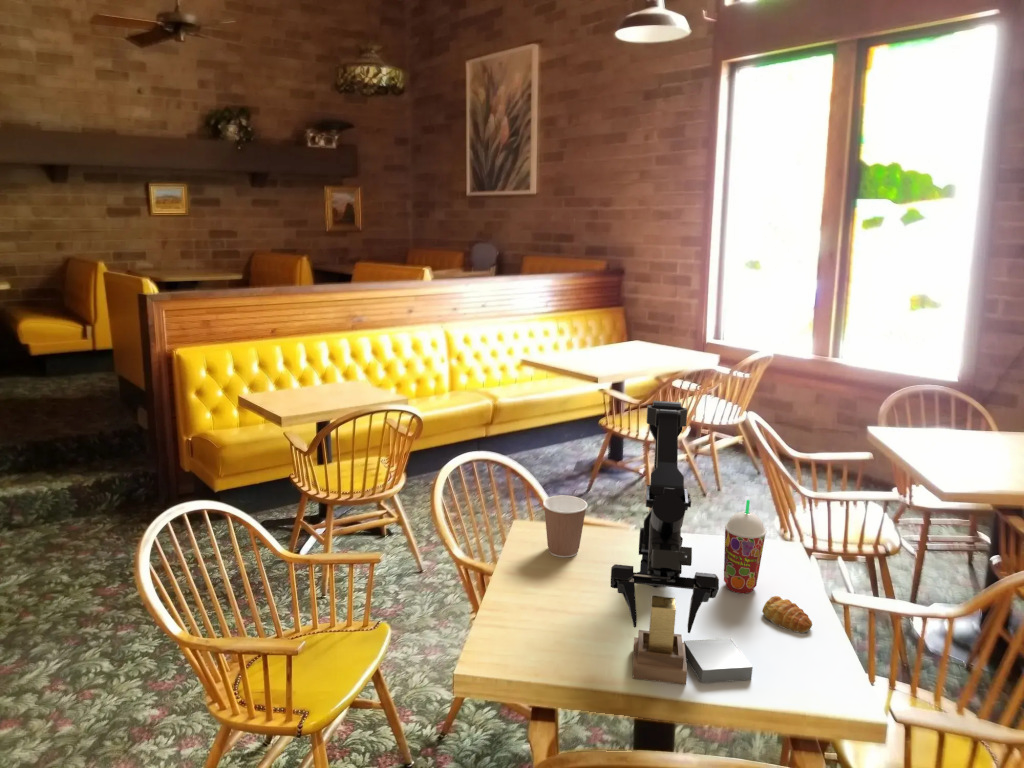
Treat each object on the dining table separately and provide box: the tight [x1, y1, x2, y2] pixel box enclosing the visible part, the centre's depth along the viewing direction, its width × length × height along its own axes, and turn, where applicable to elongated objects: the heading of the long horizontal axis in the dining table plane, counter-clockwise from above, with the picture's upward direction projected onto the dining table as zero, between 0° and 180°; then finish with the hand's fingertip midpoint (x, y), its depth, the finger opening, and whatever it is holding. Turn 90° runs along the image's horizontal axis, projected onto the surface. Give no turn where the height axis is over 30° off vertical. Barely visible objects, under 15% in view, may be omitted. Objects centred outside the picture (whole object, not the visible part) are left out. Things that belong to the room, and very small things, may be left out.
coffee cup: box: [542, 494, 588, 558], centre depth 177 cm, size 10×10×12 cm
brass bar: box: [648, 595, 677, 655], centre depth 133 cm, size 4×4×10 cm
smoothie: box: [723, 499, 767, 594], centre depth 161 cm, size 8×8×20 cm
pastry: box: [761, 595, 813, 634], centre depth 150 cm, size 9×7×4 cm
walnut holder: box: [632, 629, 688, 686], centre depth 134 cm, size 9×9×4 cm
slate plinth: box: [683, 637, 753, 684], centre depth 135 cm, size 9×9×2 cm
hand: (661, 629), depth 131 cm, fingers open, 9 cm apart
